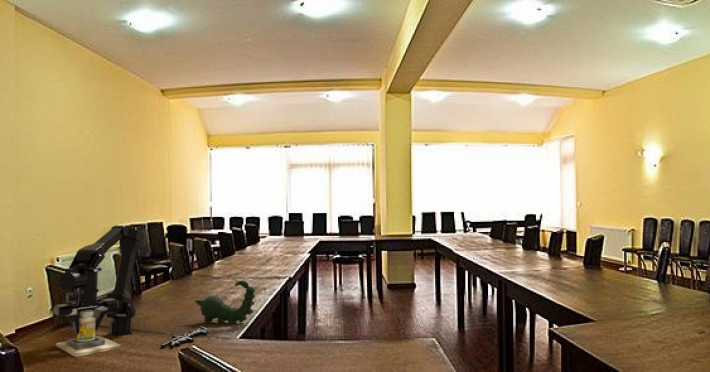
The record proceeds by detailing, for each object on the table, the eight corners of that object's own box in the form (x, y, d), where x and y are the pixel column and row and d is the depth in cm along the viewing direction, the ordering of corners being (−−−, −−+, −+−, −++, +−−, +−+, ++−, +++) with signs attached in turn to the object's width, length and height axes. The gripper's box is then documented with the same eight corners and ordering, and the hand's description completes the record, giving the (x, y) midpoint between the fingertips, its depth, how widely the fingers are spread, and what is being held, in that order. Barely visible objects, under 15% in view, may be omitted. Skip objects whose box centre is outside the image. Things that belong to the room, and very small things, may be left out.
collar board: (100, 338, 175) (100, 331, 176) (120, 348, 163) (121, 340, 164) (56, 346, 165) (56, 338, 165) (75, 357, 153) (75, 349, 153)
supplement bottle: (98, 339, 164) (99, 310, 165) (81, 343, 160) (83, 313, 160) (89, 337, 167) (90, 309, 168) (73, 340, 163) (74, 311, 163)
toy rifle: (191, 326, 191) (215, 327, 190) (191, 330, 191) (215, 331, 190) (153, 344, 164) (181, 346, 163) (153, 349, 164) (181, 350, 163)
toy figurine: (254, 325, 206) (197, 318, 208) (258, 280, 206) (202, 273, 209) (247, 330, 196) (187, 323, 199) (252, 283, 197) (193, 276, 200)
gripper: (107, 280, 177) (105, 324, 176) (49, 286, 163) (47, 333, 162) (120, 283, 170) (118, 329, 169) (60, 290, 156) (58, 339, 155)
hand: (86, 332), depth 164 cm, fingers closed on supplement bottle, 5 cm apart
